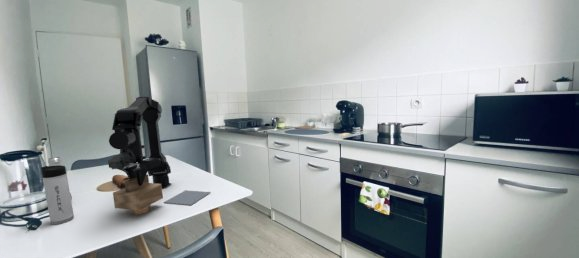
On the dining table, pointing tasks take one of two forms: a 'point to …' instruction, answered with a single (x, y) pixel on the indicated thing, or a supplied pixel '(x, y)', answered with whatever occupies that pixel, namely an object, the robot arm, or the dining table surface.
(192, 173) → the dining table surface
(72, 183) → the dining table surface
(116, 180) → the brown slipper
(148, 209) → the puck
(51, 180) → the travel mug
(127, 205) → the cover
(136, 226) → the dining table surface
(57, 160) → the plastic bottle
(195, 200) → the mat
